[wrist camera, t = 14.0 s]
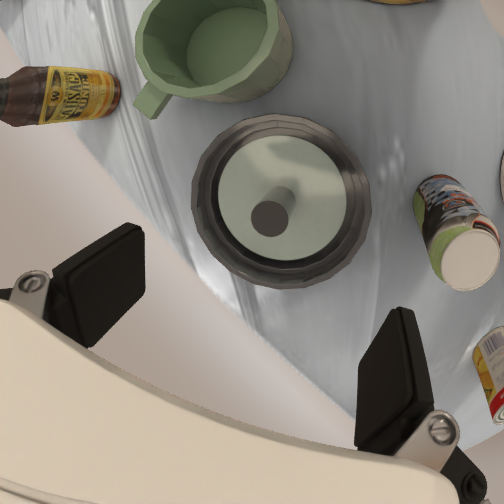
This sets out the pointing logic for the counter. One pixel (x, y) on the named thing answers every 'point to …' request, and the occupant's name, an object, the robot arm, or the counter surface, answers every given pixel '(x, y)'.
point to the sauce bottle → (56, 95)
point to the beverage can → (456, 233)
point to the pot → (210, 51)
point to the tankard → (399, 1)
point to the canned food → (492, 371)
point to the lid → (282, 197)
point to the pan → (251, 263)
